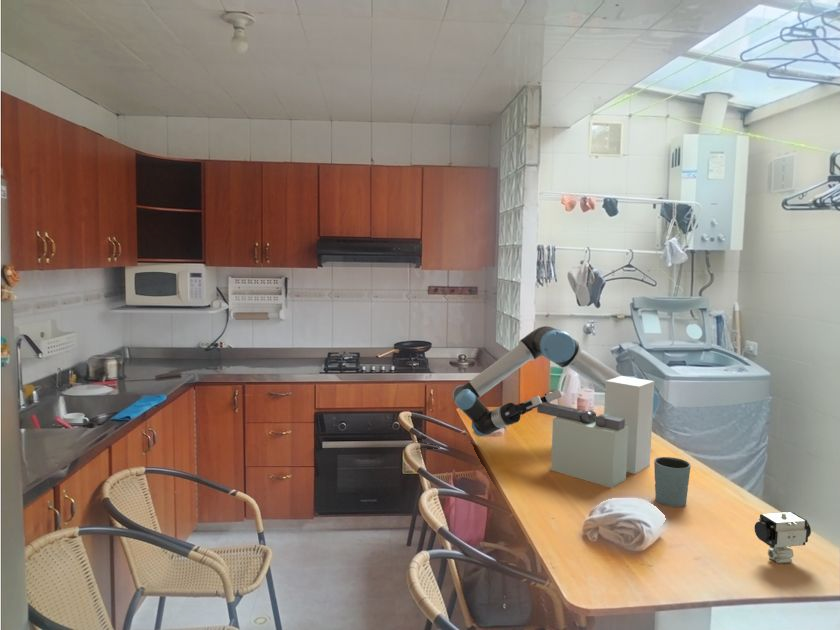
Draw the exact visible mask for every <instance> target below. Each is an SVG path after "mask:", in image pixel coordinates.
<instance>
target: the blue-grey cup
mask: <svg viewBox="0 0 840 630" xmlns="http://www.w3.org/2000/svg"><path fill="white" fill-rule="evenodd" d="M653 462H654V463H653V464H654V482H655V483H654V488H655V490H654V491H655V501H656V502H657V503H659V504H661V505H664V506H666V507H670V508H682V507H685V506H686V504H687V501H688V500H687V497H688V490H689V482H690V473H691V467H692V466H691V463H690V462H689V461H687V460H684V459H682V458H676V457H671V456H669V457H668V456H661V457H660V456H659V457H657V458H655V459H654V460H653Z"/></svg>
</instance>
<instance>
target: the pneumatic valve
mask: <svg viewBox="0 0 840 630" xmlns="http://www.w3.org/2000/svg"><path fill="white" fill-rule="evenodd" d="M754 533H755V535H756V537H757V538H758V540H760V541H761V542H763V543H764V544H766V545H767V546H769V549H768V550H767V556H768V557H769V558H770V560H773V561H775V562H776V563H777V564H790V563H792V561H793V559H792V558H793V557H794V550H793V549H792V547H798V546H799V547H800V546H806V543H808V541H809V537H810V536H811V534H812V529H811V526H810V524H809V522H808V520H807V519H805V518H803V517H801V516H800V515H799V514H797V513H795V512H777V513H762V514H759V519H758V521H757V522H756V523H755V524H754Z"/></svg>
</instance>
